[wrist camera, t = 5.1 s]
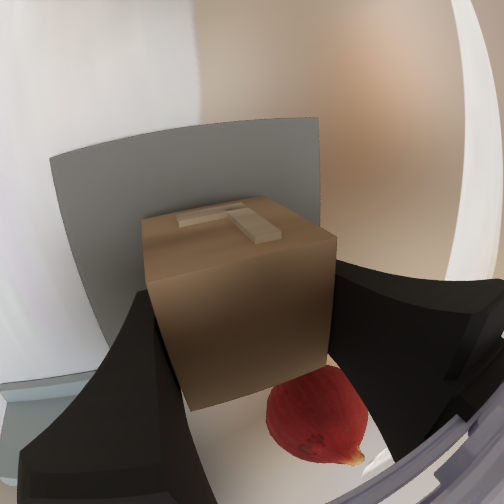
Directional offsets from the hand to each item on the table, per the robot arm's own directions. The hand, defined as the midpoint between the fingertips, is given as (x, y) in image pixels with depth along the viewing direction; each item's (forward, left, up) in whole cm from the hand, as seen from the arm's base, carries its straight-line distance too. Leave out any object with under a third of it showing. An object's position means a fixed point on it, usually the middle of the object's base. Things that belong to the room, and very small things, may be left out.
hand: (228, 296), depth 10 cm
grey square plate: (0, 0, -3) cm, 3 cm away
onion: (-9, -4, -4) cm, 11 cm away
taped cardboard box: (0, 0, -2) cm, 2 cm away
